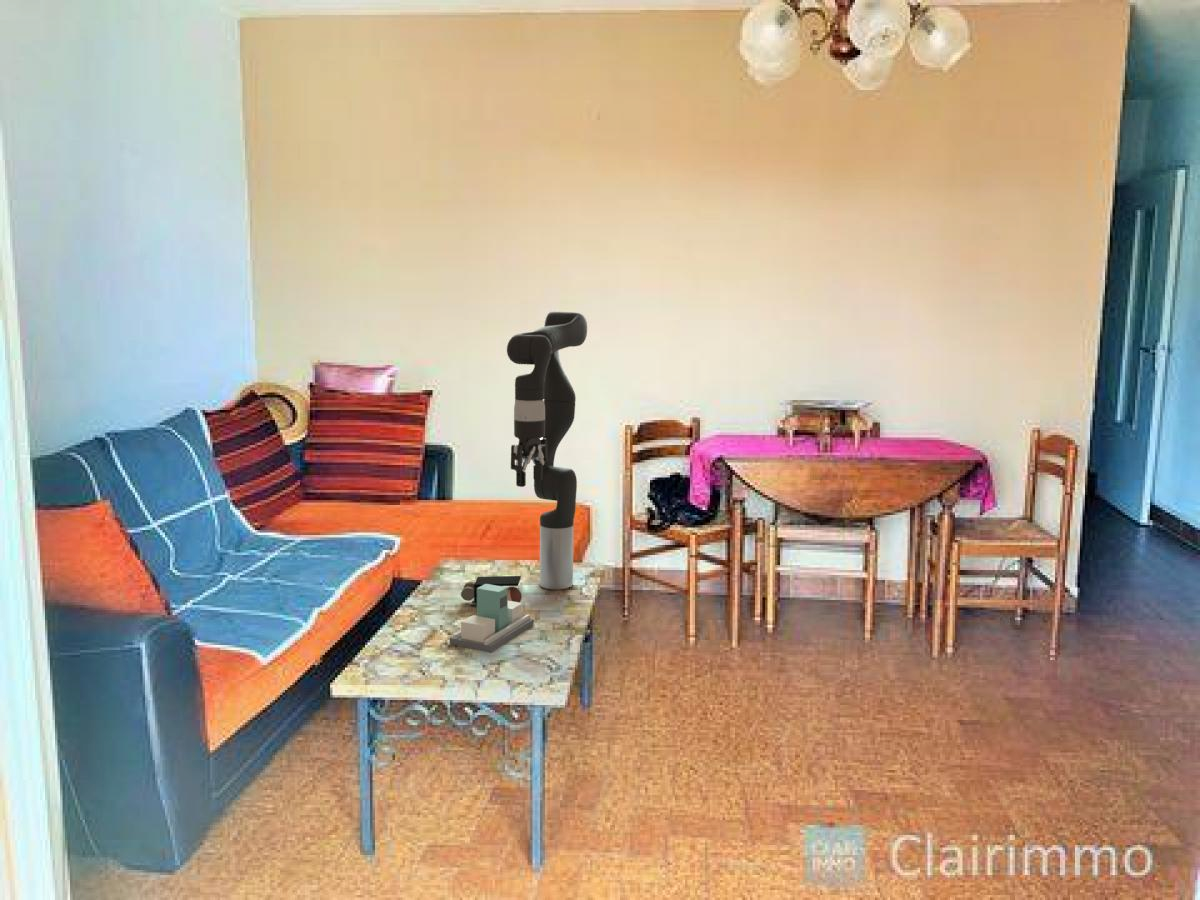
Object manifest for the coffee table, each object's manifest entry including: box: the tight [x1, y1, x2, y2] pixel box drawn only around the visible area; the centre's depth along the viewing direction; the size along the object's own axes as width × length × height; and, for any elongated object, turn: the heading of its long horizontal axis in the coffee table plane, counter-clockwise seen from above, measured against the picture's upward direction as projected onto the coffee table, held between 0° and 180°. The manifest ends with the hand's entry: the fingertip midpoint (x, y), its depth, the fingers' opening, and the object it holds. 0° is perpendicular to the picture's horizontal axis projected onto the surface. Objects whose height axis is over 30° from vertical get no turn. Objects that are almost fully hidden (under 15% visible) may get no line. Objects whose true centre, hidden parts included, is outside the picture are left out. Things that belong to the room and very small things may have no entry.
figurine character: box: [460, 575, 523, 607], centre depth 246 cm, size 7×8×15 cm
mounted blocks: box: [460, 601, 524, 643], centre depth 225 cm, size 18×6×4 cm, turn 155°
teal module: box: [476, 584, 509, 633], centre depth 224 cm, size 4×6×10 cm, turn 66°
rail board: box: [449, 613, 534, 653], centre depth 225 cm, size 20×11×2 cm, turn 155°
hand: (529, 483), depth 233 cm, fingers open, 8 cm apart
